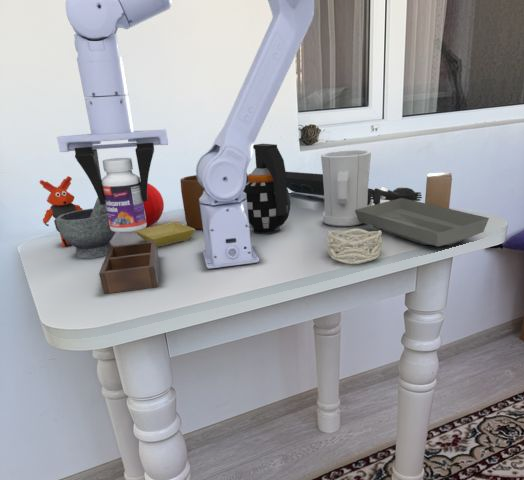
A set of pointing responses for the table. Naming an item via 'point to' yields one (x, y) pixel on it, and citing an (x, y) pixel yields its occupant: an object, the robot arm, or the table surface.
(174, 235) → the saucer
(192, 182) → the mug
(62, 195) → the toy animal
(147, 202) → the tomato
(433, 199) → the wooden block
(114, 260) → the rack
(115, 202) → the pill bottle
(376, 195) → the figurine
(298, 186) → the smart home device
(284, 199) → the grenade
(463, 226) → the grey tray
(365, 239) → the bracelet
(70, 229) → the mortar and pestle
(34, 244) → the table surface
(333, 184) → the cup
